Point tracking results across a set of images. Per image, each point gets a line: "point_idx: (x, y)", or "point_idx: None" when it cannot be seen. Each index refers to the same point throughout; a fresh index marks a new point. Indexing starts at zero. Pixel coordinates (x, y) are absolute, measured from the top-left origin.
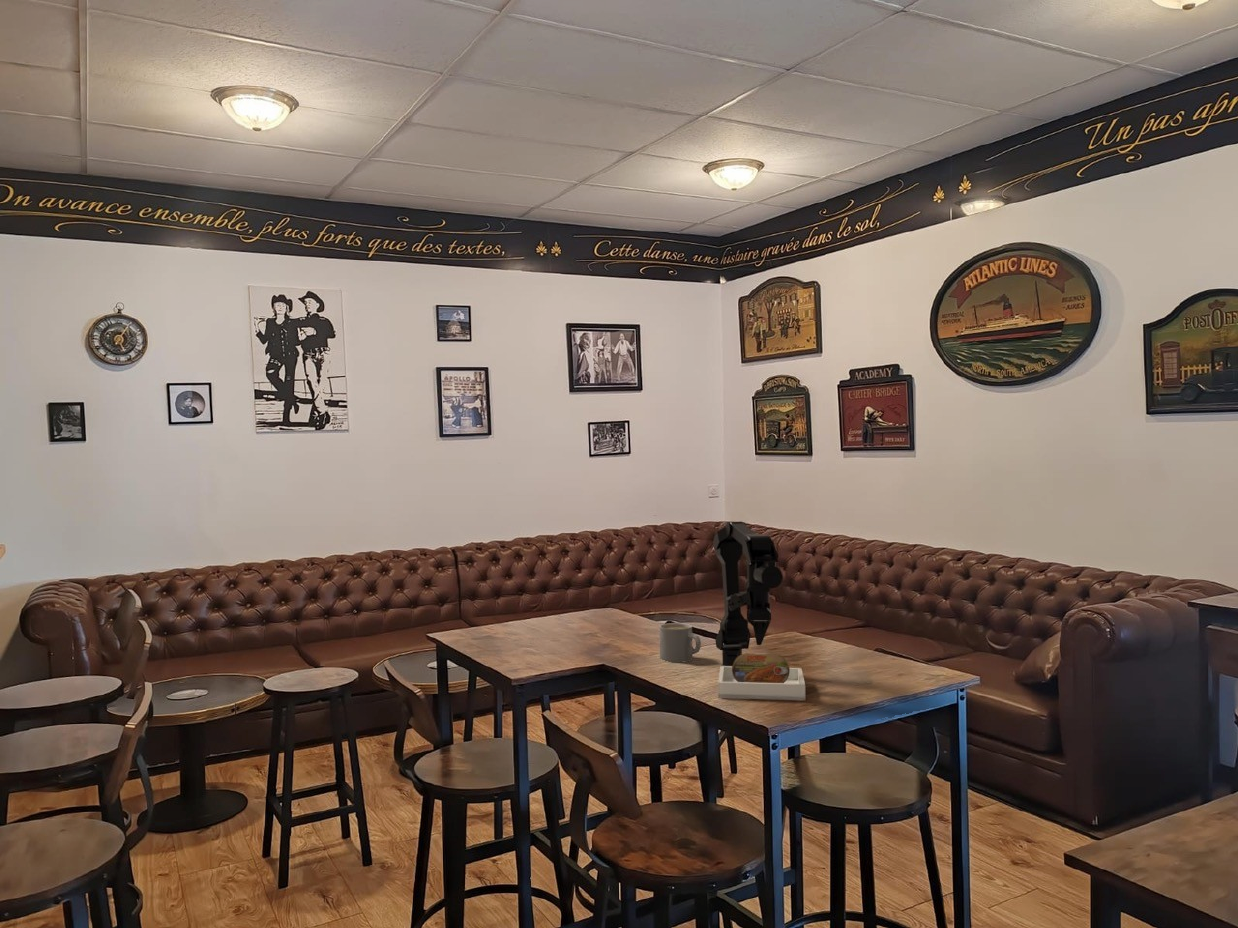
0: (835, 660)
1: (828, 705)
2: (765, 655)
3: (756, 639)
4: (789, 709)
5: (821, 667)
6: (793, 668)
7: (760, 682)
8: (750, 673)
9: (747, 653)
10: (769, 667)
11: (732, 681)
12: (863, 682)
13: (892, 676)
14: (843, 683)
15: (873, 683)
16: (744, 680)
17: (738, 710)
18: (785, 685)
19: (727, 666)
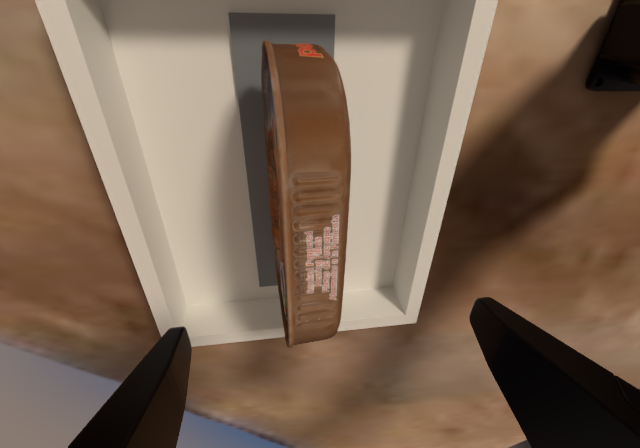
0: (610, 339)
1: (146, 354)
2: (294, 285)
3: (134, 374)
4: (37, 272)
5: (554, 319)
6: (410, 303)
7: (275, 184)
8: (277, 155)
9: (334, 182)
10: (284, 259)
11: (366, 36)
12: (392, 393)
13: (438, 423)
14: (384, 365)
15: (383, 406)
16: (271, 112)
17: None
18: (148, 293)
19: (488, 1)
